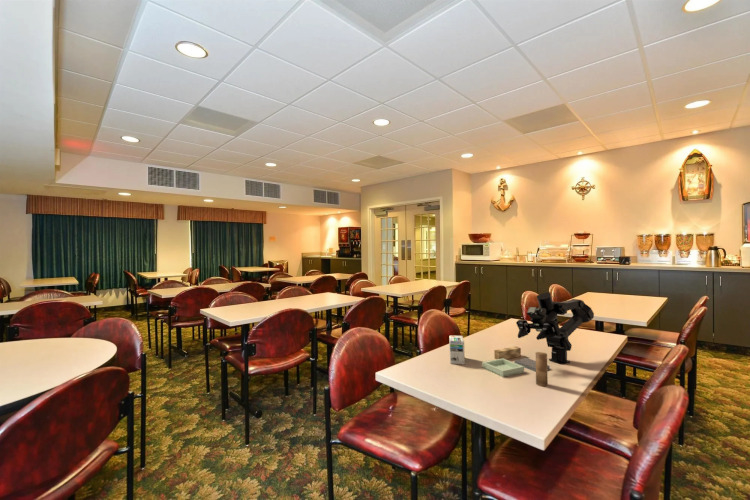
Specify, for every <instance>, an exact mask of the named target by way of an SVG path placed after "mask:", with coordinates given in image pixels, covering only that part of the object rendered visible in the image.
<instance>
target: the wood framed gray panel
mask: <svg viewBox="0 0 750 500" xmlns="http://www.w3.org/2000/svg"><path fill="white" fill-rule="evenodd" d="M513 363H516V364H519V365H521V366H524V369H527V370H530V371H532V372H535V373H536V360H534V359H531V358H528V357H525V358H520V359H515V360H513ZM550 369H551V368H550V365H548V364H547V371H549V370H550Z"/></svg>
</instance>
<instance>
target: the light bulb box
mask: <svg viewBox="0 0 750 500" xmlns="http://www.w3.org/2000/svg"><path fill="white" fill-rule="evenodd" d="M448 339H449V340H448V341H449V343H448V344H449V360H450V361H449V363H450V364H452V365H453V364H454V365H465V359H466V358H465V357H466V356H465V340H464V335H453V334H452V335H449V338H448Z"/></svg>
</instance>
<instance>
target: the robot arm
mask: <svg viewBox="0 0 750 500" xmlns="http://www.w3.org/2000/svg"><path fill="white" fill-rule="evenodd" d="M536 299H537V302H538V307H536V306H532V307H531V306H530V307H528V309H527V311H526V314H527V315H528V316H529V317H530V322H528V321H527V320H526V319H518V320H517V321H515V324H516V326H517V328H518V334H517V337H518V339H521V338H524V337H525V336H529V334H530V333H531V330H535V331H536V332H539V333H538V334H537V336H536V340H537V341H540V340H543V339H545V340H546V345H547V347H548V348H551V358H548V360H549V361H551V362H554V363H557V364H560V365H564V364H568V363H569V364H570V363H571V360H569V359H568V352H570V351H571V350H572V345H573V344H572V343H571V342H570V340H569V337H570V336H571V335H572V334H573V333H574V332H575V331H576V330H577V328H579V327H580V326H581V325H582V324H585V323H589V322H591V321H592V320H593V318H594V317H595V313H594V311H593V310H592V309H593V308H592V307H590V306H589V305H587V304H586V303H585V302H584V300H583V299H576V298H572V299H570V300H564V301H560V302H559V301H553V299H552V295H551V292H547V291H546V292H544V293H540V294H537V296H536ZM568 311H570V313H571V314H572V316H571V317H570V318H569V319H568V320H567V321H566V322H565V323H564V324H562V325H561V326H559V324H558V322H559V319H558V315H559V316H564V315H566V314H567V313H568Z"/></svg>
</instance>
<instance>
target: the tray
mask: <svg viewBox="0 0 750 500" xmlns="http://www.w3.org/2000/svg"><path fill="white" fill-rule="evenodd" d="M482 369H484V370H487V371H488V372H491V373H493V374H495V375H497V376H499V377H502V378H505V377H510V376H514V375H518V374H523V373H525V368H524V366H521V365H519V364H516V363H514V361H511V360H508V359H503V358H502V359H491V360H488V361H483V362H482Z"/></svg>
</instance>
